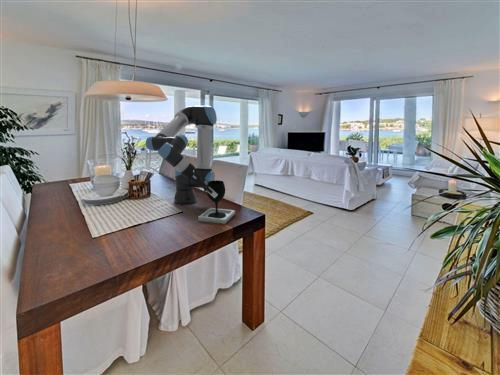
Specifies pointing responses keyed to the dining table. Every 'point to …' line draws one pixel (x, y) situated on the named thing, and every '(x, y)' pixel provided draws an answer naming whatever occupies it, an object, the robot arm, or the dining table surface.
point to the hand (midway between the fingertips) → (213, 193)
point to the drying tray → (224, 220)
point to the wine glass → (220, 190)
